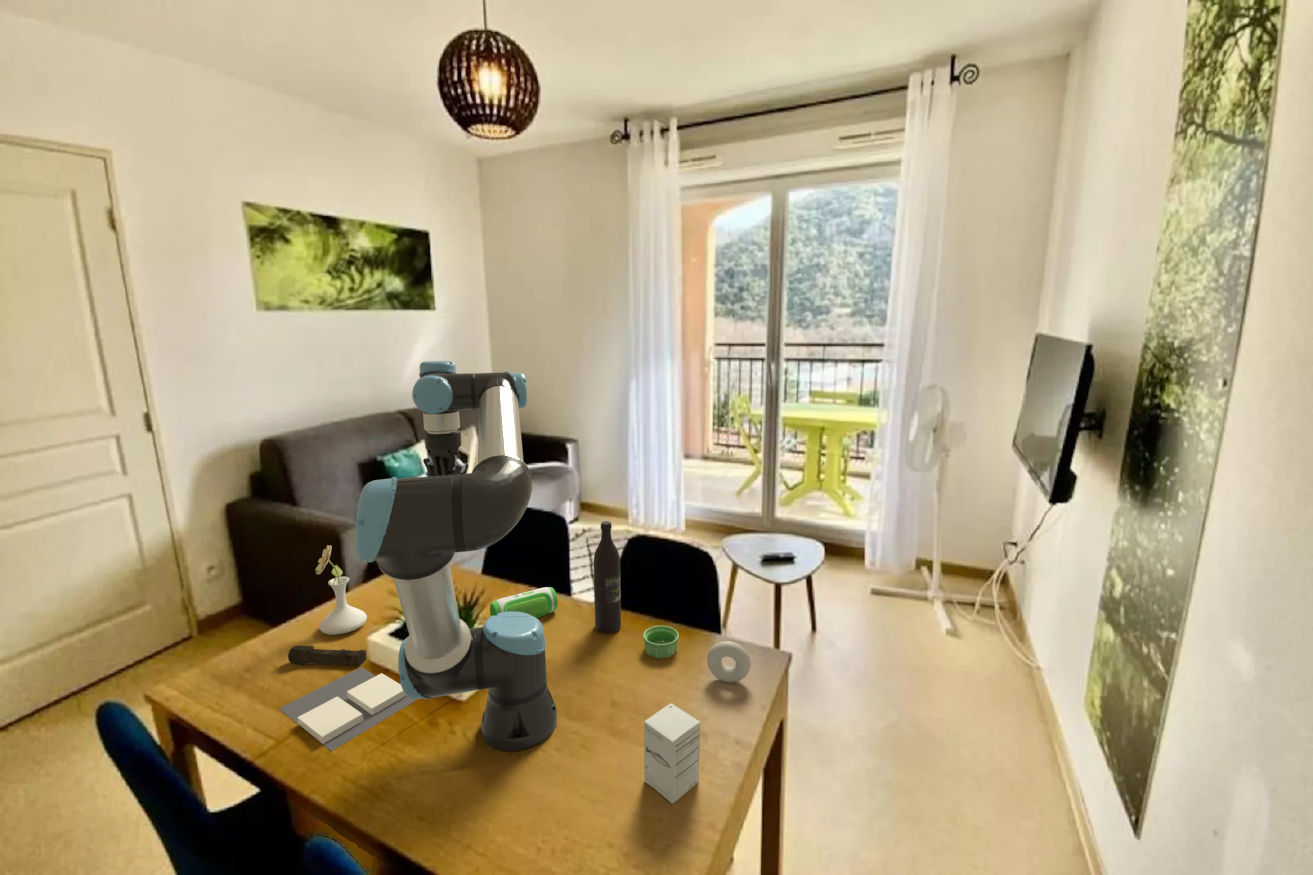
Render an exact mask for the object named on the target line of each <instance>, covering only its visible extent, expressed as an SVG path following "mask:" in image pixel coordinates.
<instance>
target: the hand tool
mask: <svg viewBox="0 0 1313 875" xmlns="http://www.w3.org/2000/svg"><path fill="white" fill-rule="evenodd" d="M287 655H288V656H287V659H288V662H289V663H290V664H293V665H298V666H303V667H304V666H307V665H309V664H311V665H312V664H314V665H323V666H324V665H329V666H330V665H331V666H351V667H353V666H355V667H356V668H357V669H358V668H360V667H361V665H362V664H364V663H365V662H366V660H367V650H366V649H360V650H352V649H351V650H350V649H348V650H347V649H345V648H343V649H321V648H315V647H314V645H302V644H300V645H294V646H293V647H291V648H290V649H289V650H288V654H287Z"/></svg>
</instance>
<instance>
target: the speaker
mask: <svg viewBox="0 0 1313 875" xmlns="http://www.w3.org/2000/svg"><path fill="white" fill-rule="evenodd" d="M558 600H559V599H558V595H557V592H556V590H555V589H554V588H553V587H551V586H548V587H547V586H546V587H541V588H537V589H532V590H528V591H525V592H520V593H517V594H514V595H510V596H509V595H508V596H506V597H502V598H498V599H496V600H495V601H492V602H491V603H490V605H489V614H490V617H491V616H496V614H498V613H502V612H522V613H527V614H529V615H531V616H533V617H535V618H537V619H539V618H541V617H544V616H545V615H548V614H551V613H553V612H555V611H556V610H557V609H558V606H559V601H558Z"/></svg>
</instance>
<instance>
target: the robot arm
mask: <svg viewBox="0 0 1313 875" xmlns="http://www.w3.org/2000/svg"><path fill="white" fill-rule="evenodd" d="M418 375H419V378H418V379H417V380H416V382H415V384H414V385H413V387H412V393H411V397H412V400H413V403H414V405H415V406H416V408H418V409H419V410H420V411H421V412H422V416H423V418H422V419H423V429H424V430H425V431H426V432H425V434H424V438H425V439H424V440H425V448H426V449H427V450H429V451H430V452H429V456H428V457H425V458H423V460H422V462H423V464H424V467H425V468H426V471H427V476H420V477H419V476H416V477H404V478H403V477H402V478H398V477H397V476H392V477H391V478H385V479H383V478H382V479H375V480H372V481H369V482H367V483H366V484H365V485H364V486H363V488H362V490H361V493H360V495H359V500H358V504H357V511H356V518H355V519H356V520H355V551H356V555H357V556H356V557H357V558H358V560H359V561H361V562H368V563H369V564H370V563H373V562H376V564H377V565H378V566H377V567H378V569H379V570H380V571H381V572H382V573H383V574H384V575H385V576H387V577H388V578H391V579H393V582H394V585H395V589H396V593H397V595H398V596H397V597H398V600H399V604H400V606H401V610H402V613H403V618H404V620H405V624H406V628H407V631H408V634H409V635H408V636H407V637H406V638H405V639H404V640H402V641H401V644H400V647H399V652H398V661H397V665H398V667H397V668H398V675H399V678H400V679H399V680H400V681H399V683H400V685H401V686H402V689H403V691H404V693H405V694H406V695H407V696H408V697H409V698H411V699H414V700H421V699H422V700H423V699H424V700H430V699H434V698H438V697H439V698H440V697H444V696H450V695H456V694H464V693H468V692H474V691H475V692H476V691H481V690H487V692H488V694H487V695H488V696H487V698H486V699H487V700H486V704H485V708H484V711H483V713H482V717H481V722H480V725H481V734H482V735H481V736H482V738H483V740H484V742H486V744H488V745H489V746H490V747H491V748H494V749H497V750H500V751H509V752H514V751H522V750H526V749H530V748H532V747H535V746H537V745H538V744H540V743H542V742H544V741H546V739H548V737H550V735H551V734H552V733H553V732H554V730H555V729H556V727H557V722H558V713H557V712H558V709H557V706H556V702H555V701H554V698H553V696H552V693H551V691H550V689H549V687H548V681H547V680H548V678H547V663H546V662H547V661H546V647H547V642H546V638H545V630H544V626H543V624H542V622H541V621H540V620H539V618H535V617H533V616H531V615H529V614H527V613H522V612H502V613H498V614H496V616H491V615H490V616H489V617H487V619H486V620H485V622H484V624H483V626H479V627H471V628H469V625H467V623H466V622H465V621H464V620H463V619H461V618H460V615H459V610H458V604H457V598H456V592H455V587H454V581H453V575H452V570H451V562H452V560H453V558H454V557H455V554H456V553H464V552H473V551H474V552H475V551H479V550H482V549H486V548H488V547H490V546H492V545H494V544H496V543H497V542H499V541H500V540H502V539H503V538H504V537H505V536H506V535H508V534H509V533H510V532H511V531H512V530H513V529H514V528H515V527H516V526H517V524H518V523H519V521H520V520H521V519H522V517H523V515H524V513H525V512H526V510H527V507H528V506H529V503H530V500H531V497H532V492H533V491H532V490H533V489H532V488H533V485H532V484H533V482H532V473H531V471H530V468H529V466H528V465H527V464H526V462H524V454H523V453H524V451H523V441H522V432H521V422H520V421H521V420H520V419H521V418H520V409H521V408H525V407H526V406H527V404H528V391H527V389H528V388H527V378H526V375H525V374H524V373H522V372H511V371H504V372H479V373H473V372H472V373H471V372H469V373H466V372H465V373H457V367H456V363H455V362H454V361H451V360H428V361H423V362H421V363H420V364H419V374H418ZM471 410H473V411H475V410H479V414H478V415H479V416H478V441H477V442H478V444H477V445H478V446H477V448H478V449H477V463H476V465H475V466H474V467H473V469H472V471H471V472H469V473H467V471H468V469H469V464H468V462H464V463H463V461H462V460H461V456H460V453H459V449H460V447H461V446H462V434H461V433H462V432H461V431H460V430H459V429H460V428H461V423H460V411H471Z"/></svg>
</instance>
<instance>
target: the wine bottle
mask: <svg viewBox="0 0 1313 875" xmlns="http://www.w3.org/2000/svg"><path fill="white" fill-rule="evenodd" d="M612 526H613V525H612V522H611V521H609V520H605V521H603V520H602V521H601V523H600V530H601V534H600V536H601V537H600V541H599V544H598V546H597V547H596V549H595V551H594V556H593V588H594V591H593V592H594V594H593V595H594V596H593V597H594V599H593V600H594V627H595V630H596V631H597V632H599V633H602V634H613V633H615V632H618V631H619V630H620V629H621V627H622V604H621V602H622V599H621V596H622V595H621V593H622V591H621V558H620V552H619V551H618V548H617V546H616V545H615V544H614V541H613V537H612V528H613V527H612Z"/></svg>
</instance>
